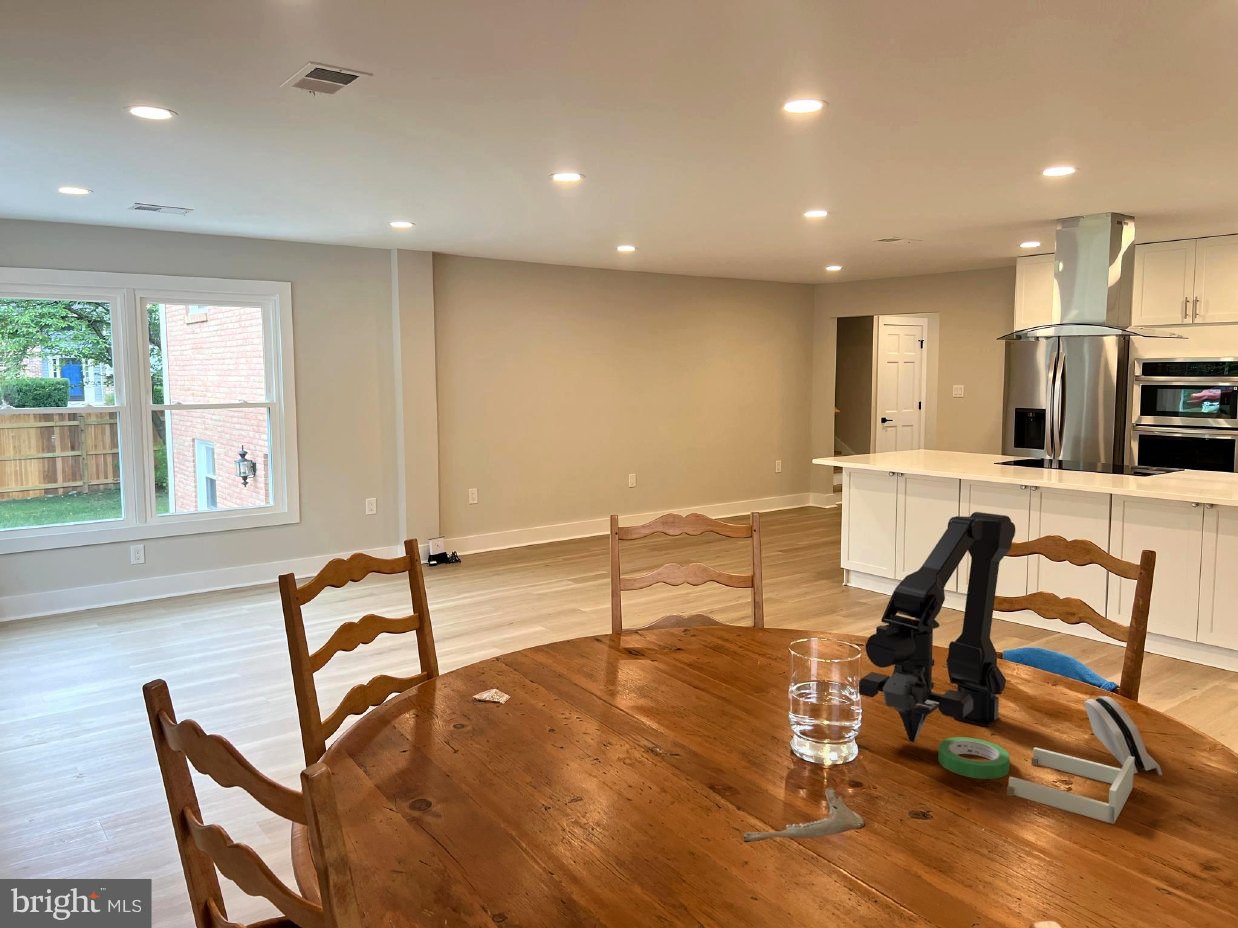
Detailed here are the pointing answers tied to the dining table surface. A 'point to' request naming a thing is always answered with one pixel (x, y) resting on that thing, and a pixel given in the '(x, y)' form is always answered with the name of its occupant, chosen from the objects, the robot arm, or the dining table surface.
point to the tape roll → (973, 768)
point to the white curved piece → (1118, 733)
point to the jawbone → (818, 823)
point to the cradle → (1073, 802)
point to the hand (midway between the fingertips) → (912, 740)
